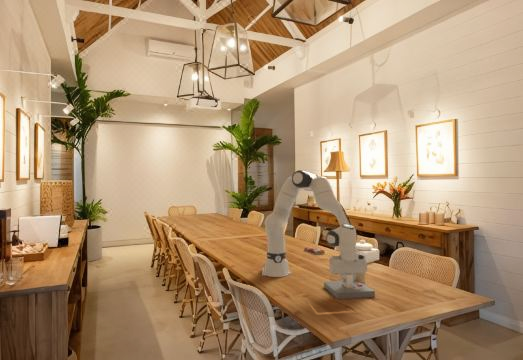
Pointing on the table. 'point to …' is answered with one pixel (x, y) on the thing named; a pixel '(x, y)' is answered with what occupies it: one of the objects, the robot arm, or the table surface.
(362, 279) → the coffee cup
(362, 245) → the butter dish
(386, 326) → the table surface
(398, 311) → the table surface
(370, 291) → the socket plate
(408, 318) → the table surface
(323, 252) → the pencil case
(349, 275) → the plug
